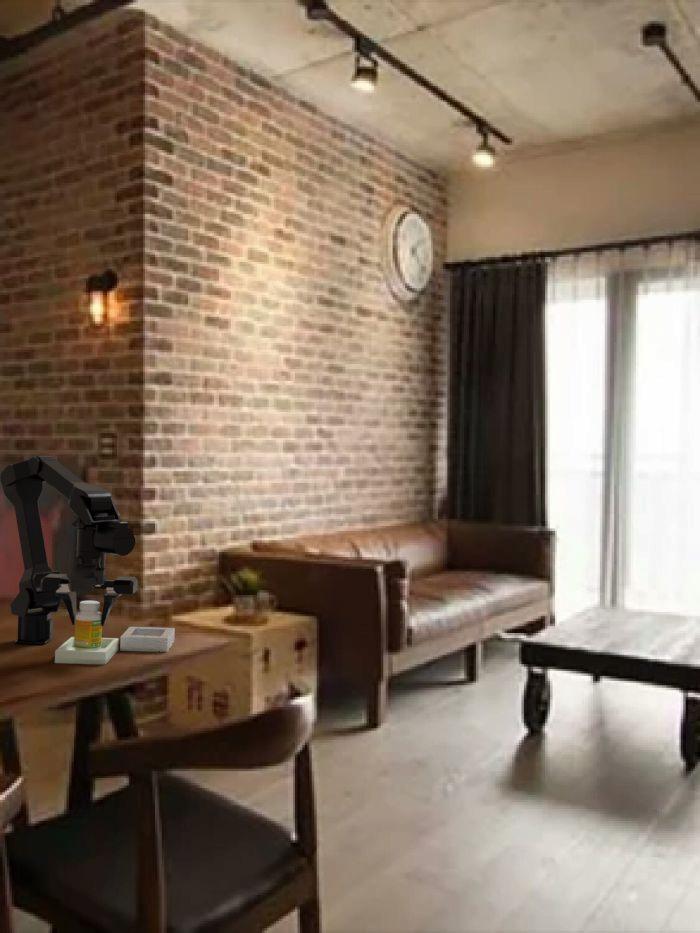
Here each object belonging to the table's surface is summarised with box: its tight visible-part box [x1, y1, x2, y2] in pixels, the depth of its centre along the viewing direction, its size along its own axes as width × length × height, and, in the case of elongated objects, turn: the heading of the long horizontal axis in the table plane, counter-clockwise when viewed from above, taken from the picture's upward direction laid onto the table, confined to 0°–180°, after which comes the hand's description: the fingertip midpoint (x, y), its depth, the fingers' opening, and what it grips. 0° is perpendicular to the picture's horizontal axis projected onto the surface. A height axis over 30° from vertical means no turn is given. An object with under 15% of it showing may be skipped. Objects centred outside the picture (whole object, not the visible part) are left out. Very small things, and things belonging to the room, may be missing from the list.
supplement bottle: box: [73, 600, 103, 651], centre depth 180 cm, size 5×5×10 cm
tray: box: [54, 636, 120, 665], centre depth 180 cm, size 10×12×2 cm
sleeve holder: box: [119, 626, 176, 653], centre depth 191 cm, size 10×10×3 cm
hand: (88, 625), depth 180 cm, fingers open, 6 cm apart
